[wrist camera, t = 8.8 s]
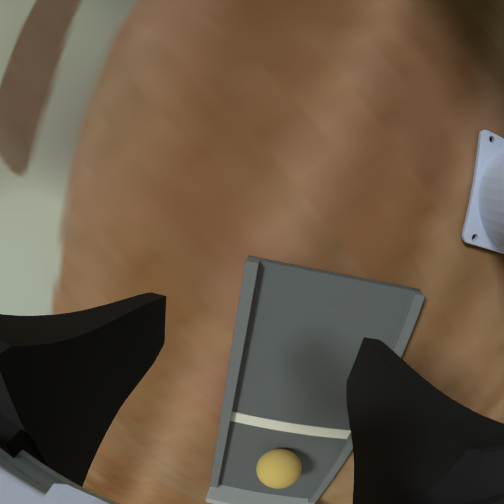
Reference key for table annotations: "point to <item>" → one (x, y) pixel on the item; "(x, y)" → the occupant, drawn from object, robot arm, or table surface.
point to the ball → (278, 468)
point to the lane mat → (298, 374)
